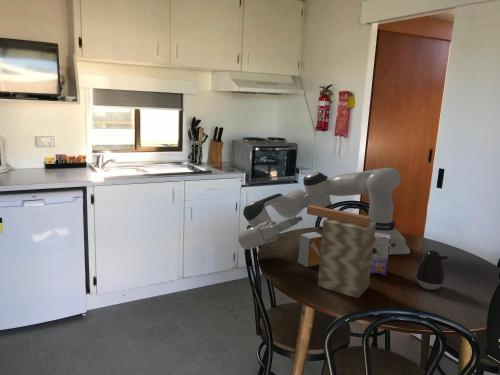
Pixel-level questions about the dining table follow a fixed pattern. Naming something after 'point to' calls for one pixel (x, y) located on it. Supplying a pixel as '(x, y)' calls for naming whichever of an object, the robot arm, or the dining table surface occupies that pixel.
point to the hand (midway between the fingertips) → (296, 220)
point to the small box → (310, 249)
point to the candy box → (380, 253)
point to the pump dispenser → (431, 270)
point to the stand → (346, 257)
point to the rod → (338, 215)
